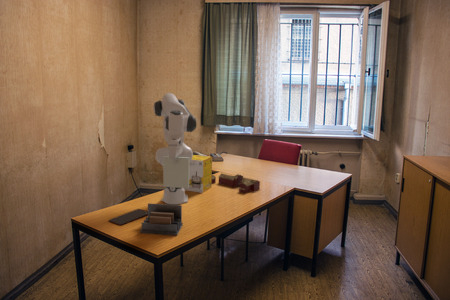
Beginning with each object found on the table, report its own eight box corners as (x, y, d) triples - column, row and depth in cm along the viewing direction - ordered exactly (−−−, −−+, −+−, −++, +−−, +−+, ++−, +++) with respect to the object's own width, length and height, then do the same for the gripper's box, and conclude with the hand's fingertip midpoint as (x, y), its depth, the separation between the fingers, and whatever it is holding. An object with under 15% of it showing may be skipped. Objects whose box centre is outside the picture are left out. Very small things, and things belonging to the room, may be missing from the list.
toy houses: (261, 188, 294) (261, 176, 292) (247, 194, 278) (248, 182, 276) (216, 178, 320) (216, 167, 318) (201, 184, 303) (201, 172, 301)
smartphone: (106, 220, 219) (138, 208, 239) (107, 222, 220) (138, 210, 240) (120, 225, 212) (151, 212, 233) (120, 227, 213) (151, 214, 233)
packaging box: (183, 190, 285) (183, 158, 280) (193, 184, 299) (193, 154, 294) (202, 192, 279) (203, 160, 274) (211, 187, 293) (212, 156, 288)
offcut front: (150, 227, 208) (150, 216, 207) (171, 229, 207) (171, 217, 206) (149, 229, 206) (149, 217, 205) (170, 230, 205) (170, 218, 204)
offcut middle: (151, 224, 212) (151, 211, 210) (173, 226, 211) (173, 213, 209) (150, 226, 210) (150, 213, 208) (172, 227, 209) (172, 214, 207)
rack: (148, 222, 219) (147, 202, 216) (182, 225, 217) (182, 204, 214) (140, 233, 204) (139, 211, 202) (177, 235, 202) (177, 214, 200)
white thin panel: (164, 185, 217) (163, 156, 213) (189, 187, 215) (189, 157, 212) (163, 186, 215) (163, 156, 212) (188, 188, 214) (188, 158, 210)
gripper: (175, 136, 220) (174, 158, 223) (166, 142, 200) (166, 166, 203) (185, 136, 220) (185, 159, 222) (177, 142, 200) (177, 167, 202)
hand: (176, 162), depth 213 cm, fingers closed on white thin panel, 2 cm apart
